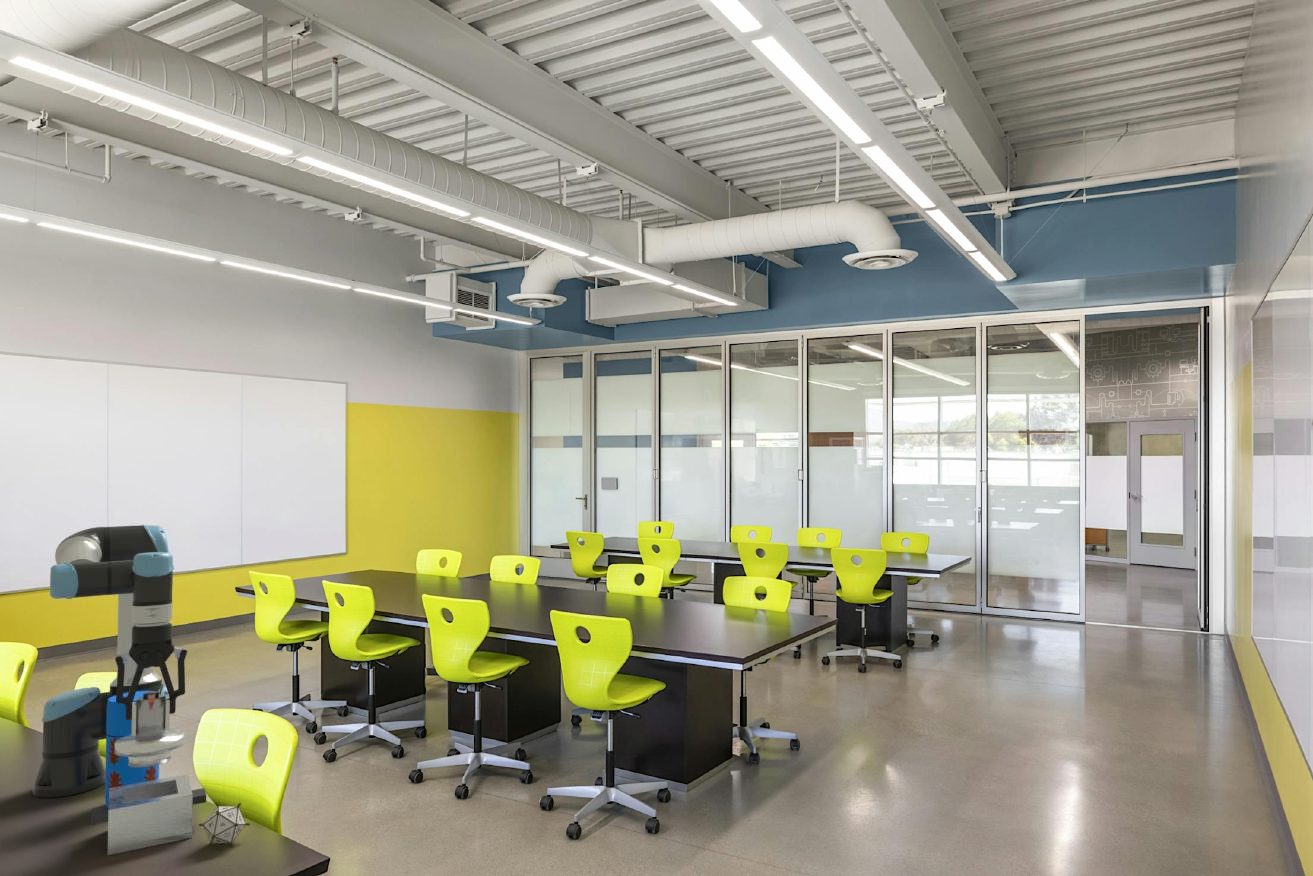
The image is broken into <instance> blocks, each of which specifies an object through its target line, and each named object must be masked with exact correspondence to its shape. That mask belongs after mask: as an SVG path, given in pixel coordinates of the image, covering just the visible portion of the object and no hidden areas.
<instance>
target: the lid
mask: <svg viewBox="0 0 1313 876" xmlns="http://www.w3.org/2000/svg"><path fill="white" fill-rule="evenodd" d="M165 705H166V696H165V695H159V692H157V691H154V692H147V693H144V694H143V697H140V698H137V699H136V736H132V734H131V735H128V736H125V737H122V738H120V739H118V740H117V741H116V742H115V754H116V755H118V756H124V757H128V766H130V767H148V766H154V765H158V764H159V765H161V764H165V763H167V762H169V761H171V759H172V751H173V750H175V749H177V748H180V747H182V746H184V745H185V742H186V740H185V738H186V737H185V736H186V733H185V731H184V730H182V729H176V728H175V729H174V728H169V731H165Z"/></svg>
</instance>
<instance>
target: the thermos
mask: <svg viewBox="0 0 1313 876" xmlns="http://www.w3.org/2000/svg"><path fill="white" fill-rule="evenodd" d="M147 692H154V691H137V692H136V693H135V696H134V699H133V702H136V699H137V698H140V697H143V694H144V693H147ZM127 695H128V693H124V694H123V696H125V697H127ZM159 695H160V694H159ZM131 734H132V719H131V720H126V705H125V704H122V703H117V702H116V696H113V697H111V698H109V699H108V703H107V722H106V739H105V770H106V772H105V783H104V784H105V786H104V796H105V798H104V799H105V806H109V788H113V787H119V786H125V785H130V784H136V783H142V782H147V781H153V780H159V779H160V764H158V765H154V766H148V767H130V766H128V757H124V756H118V755H116V754H115V742H116V741H117V740H118V739H120V738H122V737H125V736H128V735H131Z"/></svg>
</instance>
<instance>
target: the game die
mask: <svg viewBox="0 0 1313 876" xmlns="http://www.w3.org/2000/svg"><path fill="white" fill-rule="evenodd" d="M215 805H216V808H215V809H214V810H213V811H212V812H211V814H210V815H209V816H208V817H207V819H206V820H205V821H204V822H203V823H198V826H199V827H203V829H204V832H205V834H206V836H207V837H208V838H207V839H208V841H209V843H208V844H207V848H209V847H211V846H212V844H230V847H232V848H233V847H234V843H233V842H234V841H235V839H237V837H238V836H239V835H240V834H241V832H242V831H243V829H244V828H245V827H246V826H250V825H251V823H250V822H246V820H245V817H244V815H243V813H242V811H241V809H240V807H241V806H242V802H239V803H238V804H237V805H220V804H219V802H216V803H215Z"/></svg>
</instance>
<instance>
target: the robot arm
mask: <svg viewBox="0 0 1313 876" xmlns="http://www.w3.org/2000/svg"><path fill="white" fill-rule="evenodd" d="M167 539H168V538H167V535H166V532H165V529H164V528H163V527H162V526H160V525H151V524H150V525H149V524H141V525H139V524H138V525H120V526H119V525H118V526H96V527H90V528H87V529H86V528H85V529H82V530H80V531H77V532H75V533H73V534H71V535H69V536H66V538H64V539H63V540H62V541H61V542H60V543H59V544H58V546H57V548H56V550H55V554H54V556H55V557H54V561H55V563H56V564H54V565H52V566H51V567H50V574H49V575H50V576H49V577H50V579H49V595H50V597H51V599H55V600H59V599H62V600H63V599H66V600H71V599H74V598H75V599H76V598H88V597H89V598H90V597H100V596H101V597H102V596H116V595H117V651H116V652H117V653H116V656H115V657H114V659H115V664H116V677H115V679H113V680H112V681H111V683H110V684H109V691H106V692H102V691H101V689H100V688H99V687H95V686H93V687H92V686H91V687H84V688H83V687H82V688H78V689H77V688H76V689H74V690H71V691H65V692H63V693H60V694H58V695H55V696H52V697H51V698H49V699H47V701H46V702H45V703H44V705H43V714H42V715H43V717H42V718H41V722H42V723H43V724H42V727H43V728H42V749H41V751H42V754H41V761H40V765H39V767H38V770H37V771H36V775H35V778H34V780H33V783H32V791H31V792H32V795H33V796H34V797H37V798H59V797H61V798H62V797H68V796H72V795H77V794H82V793H84V792H89V791H92V790H93V789H96V788H98V787H100V786H102V785H104V784H105V772H106V766H105V765H104V762H103V759H102V757H101V754H100V751H99V745H100V744H99V743H100V741H101V740H103V741H104V740H106V722H107V703H108V699H109V698H111V697H113V696H116V702H117V703H122V704H125V705H126V720H131V719H132V736H136V702H133V699H134V696H135V693H136V692H137V691H157V692H159V694H160V695H165V696H166V705H165V731H169V729H170V716H171V715H172V714H175V713H176V711H177V709H176V707H177V705H176V702H177V701H176V700H177V698H178V697H180V696H183V695H185V694H186V676H185V675H186V673H185V670H186V667H185V660H186V658H187V657H186V656H187V654H188V650H187V648H186V647H182V648H180V647H176V646H174V645H175V644H173V624H172V623H171V621H172V620H173V586H174V585H173V584H174V583H173V579H174V577H173V575H174V569H175V568H174V567H175V565H174V558H173V556H174V555H173V554H172V553H171V552H170V551H169V546H168V540H167ZM173 653H174V657H175V658H176V659H177V683H178V684H177V688H178V689H176V690H175V688H174V686H173V685H174V684H173V682H172V679H171V676H170V672H169V670H168V667H167V664H166V662H167V660H168V659H169V658H170V657H171V655H172V654H173ZM156 668H159V669H160V672H161V675H162V677H161V676H160V675H159V674H158V673H157V671H156ZM162 679H163V680H162ZM163 682H164V683H163ZM124 693H128V695H127V697H125V696H123V694H124Z"/></svg>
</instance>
